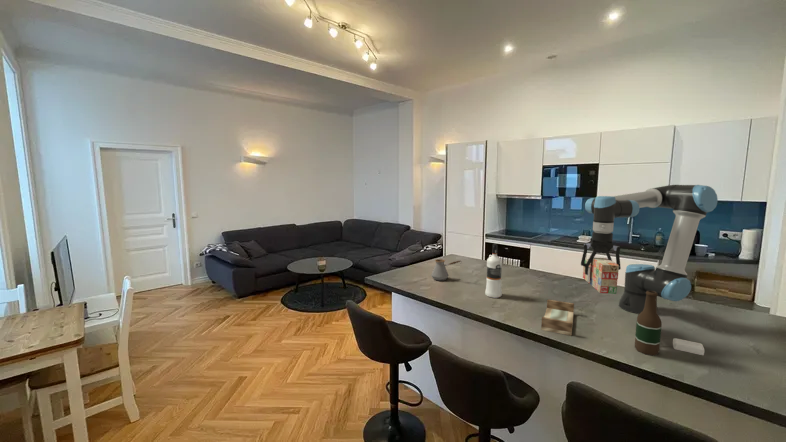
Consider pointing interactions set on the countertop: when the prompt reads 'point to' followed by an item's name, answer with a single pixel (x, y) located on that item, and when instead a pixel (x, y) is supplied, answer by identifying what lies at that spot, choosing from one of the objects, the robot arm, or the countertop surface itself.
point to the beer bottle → (648, 327)
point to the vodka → (494, 275)
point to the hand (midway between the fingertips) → (598, 282)
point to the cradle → (558, 317)
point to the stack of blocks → (603, 275)
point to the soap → (688, 346)
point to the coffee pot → (441, 270)
